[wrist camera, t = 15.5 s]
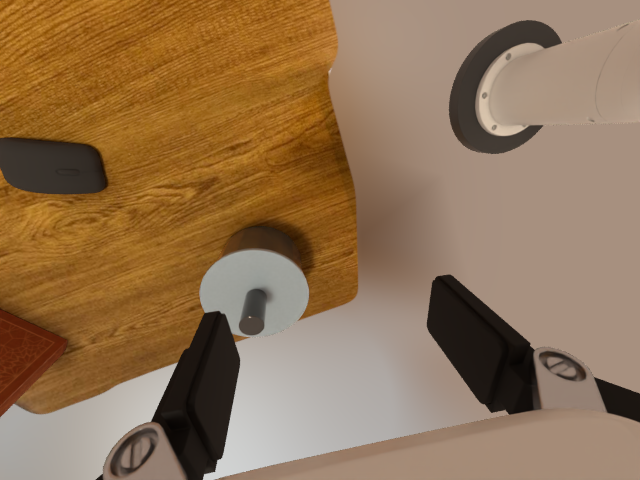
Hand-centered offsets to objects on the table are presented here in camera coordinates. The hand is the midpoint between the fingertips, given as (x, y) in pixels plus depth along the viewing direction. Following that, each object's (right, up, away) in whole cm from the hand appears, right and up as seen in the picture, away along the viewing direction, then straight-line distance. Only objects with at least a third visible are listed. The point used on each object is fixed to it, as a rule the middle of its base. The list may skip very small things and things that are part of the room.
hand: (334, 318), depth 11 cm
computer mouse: (-36, +14, +22) cm, 45 cm away
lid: (-10, -4, +23) cm, 26 cm away
